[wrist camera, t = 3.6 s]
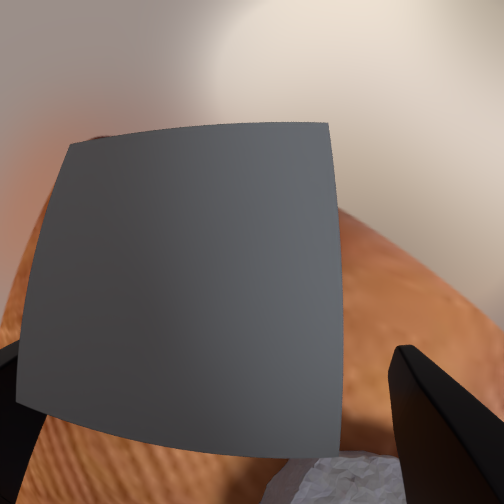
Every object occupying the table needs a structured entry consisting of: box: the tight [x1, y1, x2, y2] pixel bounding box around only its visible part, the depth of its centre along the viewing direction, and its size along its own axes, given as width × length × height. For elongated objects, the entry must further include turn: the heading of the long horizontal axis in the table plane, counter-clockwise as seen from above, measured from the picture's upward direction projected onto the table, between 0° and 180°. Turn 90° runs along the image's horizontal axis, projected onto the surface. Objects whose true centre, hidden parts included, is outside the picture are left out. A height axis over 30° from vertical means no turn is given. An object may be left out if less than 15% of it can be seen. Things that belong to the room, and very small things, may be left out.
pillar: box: [16, 122, 343, 458], centre depth 10 cm, size 5×5×12 cm
